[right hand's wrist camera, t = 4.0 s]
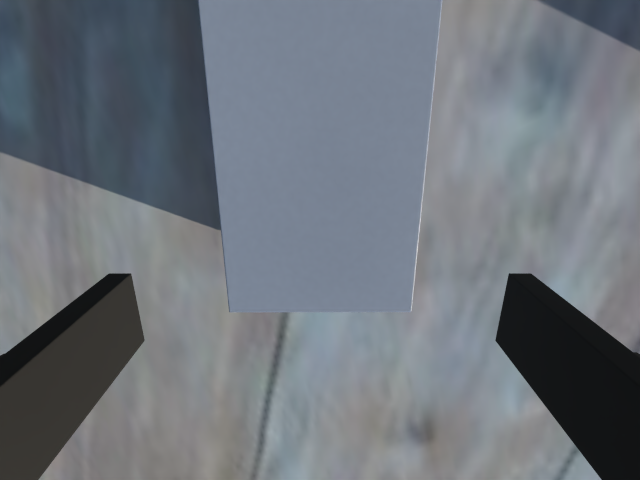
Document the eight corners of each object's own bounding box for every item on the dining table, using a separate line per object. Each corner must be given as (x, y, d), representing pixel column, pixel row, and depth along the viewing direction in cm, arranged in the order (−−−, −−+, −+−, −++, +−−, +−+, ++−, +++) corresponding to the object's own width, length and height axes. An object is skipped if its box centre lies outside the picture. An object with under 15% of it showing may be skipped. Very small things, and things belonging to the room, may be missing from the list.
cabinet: (240, -56, 23) (178, -185, 13) (399, -55, 23) (461, -185, 13) (259, 245, 30) (229, 312, 20) (380, 245, 30) (411, 312, 20)
